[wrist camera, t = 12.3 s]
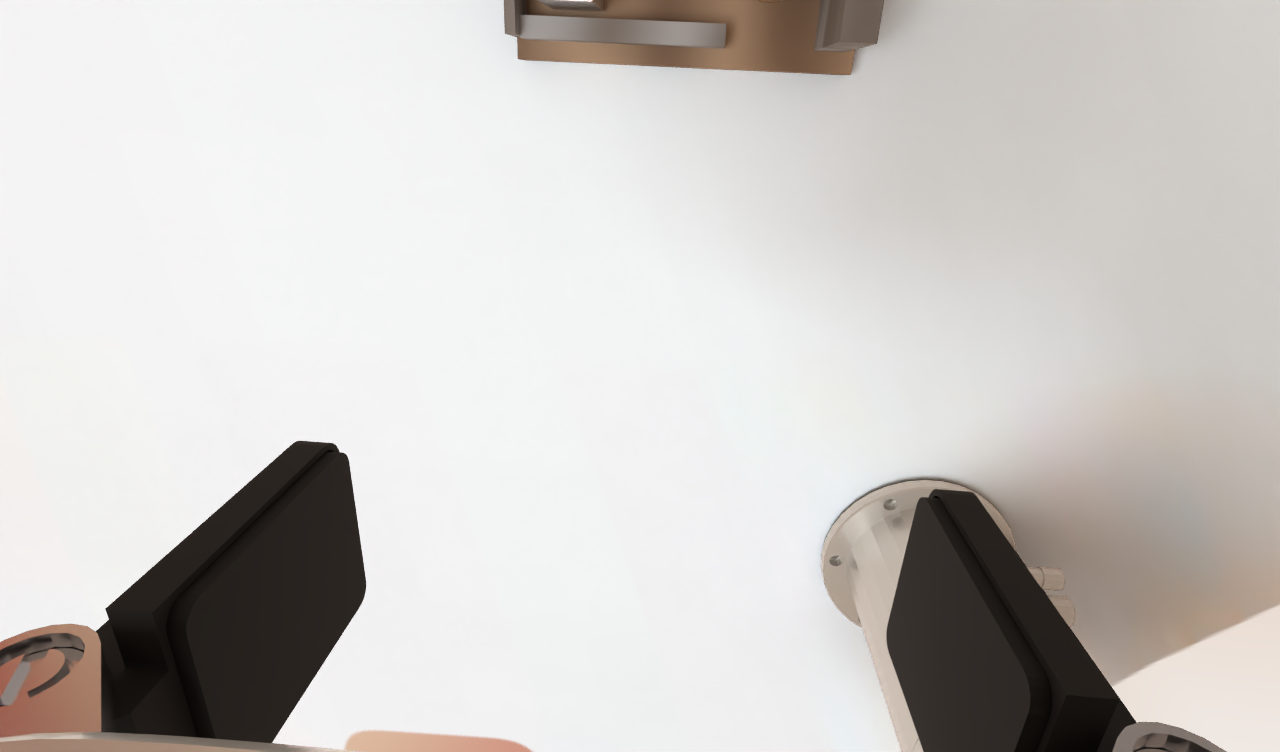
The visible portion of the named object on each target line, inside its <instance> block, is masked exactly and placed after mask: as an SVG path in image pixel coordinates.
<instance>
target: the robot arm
mask: <svg viewBox="0 0 1280 752" xmlns="http://www.w3.org/2000/svg"><path fill="white" fill-rule="evenodd" d="M821 571H822V575H823V579H824V584H825V587H826V589H827V592H828V595H829V597H830V599H831V600H832V602H833V603H834V605H835V606H836V608H837V609H838V610H839V611H840V612H841V613H842V614H843V615H844V616H845V617H846V618H847V619H849V620H850V621H852V622H853V623H855V624H856V625H858V626H860V627H862V629H863V632H864V635H865V638H866V641H867V644H868V648H869V651H870V654H871V657H872V660H873V663H874V667H875V670H876V673H877V676H878V679H879V682H880V686H881V689H882V692H883V695H884V698H885V701H886V705H887V708H888V711H889V714H890V717H891V720H892V723H893V727H894V730H895V733H896V736H897V739H898V742H899V746H900V749H901V752H1226V751H1224V750H1223V749H1221V748H1219V747H1218V746H1216V745H1215V744H1213V743H1211V742H1210V741H1208V740H1206V739H1205V738H1202V737H1200V736H1198V735H1195V734H1193V733H1191V732H1188V731H1186V730H1184V729H1181V728H1178V727H1174V726H1170V725H1166V724H1162V723H1158V722H1138V723H1136V721H1135V720H1134V718H1133V717H1132V716H1131V714H1130V713H1129V711H1128V710H1127V708H1126V707H1125V706H1124V704H1123V703H1122V701H1121V700H1120V698H1119V697H1118V696H1117V694H1116V693H1115V691H1114V690H1113V688H1112V687H1111V686H1110V684H1109V683H1108V681H1107V680H1106V678H1105V677H1104V676H1103V674H1102V673H1101V671H1100V670H1099V669H1098V667H1097V666H1096V664H1095V663H1094V661H1093V660H1092V659H1091V657H1090V656H1089V654H1088V653H1087V651H1086V650H1085V649H1084V647H1083V646H1082V644H1081V643H1080V642H1079V640H1078V639H1077V637H1076V636H1075V634H1074V633H1073V632H1072V630H1071V629H1070V626H1072V625H1073V623H1074V621H1075V610H1074V606H1073V604H1072V602H1071V600H1070V599H1069V598H1068V597H1064V596H1051V595H1046V593H1045V592H1044V590H1043V589H1047V590H1062V589H1063V587H1064V584H1065V579H1064V574H1063V572H1062V571H1061V570H1060V569H1059V568H1047V567H1036V568H1034V567H1026V565H1025V564H1024V563H1023V561H1022V560H1021V558H1020V557H1019V556H1018V554H1017V553H1016V548H1015V541H1014V538H1013V536H1012V533H1011V530H1010V528H1009V526H1008V525H1007V523H1006V522H1005V520H1004V519H1003V517H1002V516H1001V514H1000V513H999V512H998V511H997V510H996V509H995V507H994V506H993V505H992V504H991V503H990V502H989V501H987V500H986V499H985V498H983V497H982V496H980V495H979V494H978V493H976V492H974V491H971V490H969V489H967V488H965V487H963V486H960V485H956V484H952V483H948V482H944V481H932V480H918V481H906V482H902V483H898V484H894V485H889V486H886V487H884V488H881V489H879V490H876V491H874V492H872V493H869V494H868V495H866V496H865V497H863V498H861V499H860V500H858V501H857V502H855V503H854V504H853V505H851V506H850V507H849V508H848V509H847V510H846V511H845V512H844V513H842V514H841V516H840V517H839V518H838V519H837V521H836V522H835V523H834V525H833V526H832V527H831V529H830V531H829V533H828V535H827V537H826V539H825V542H824V546H823V550H822V554H821ZM365 591H366V578H365V571H364V564H363V557H362V550H361V543H360V536H359V529H358V522H357V515H356V508H355V501H354V494H353V487H352V480H351V473H350V466H349V460H348V457H347V455H346V454H345V453H340V452H339V450H338V448H337V446H336V445H334V444H333V443H322V442H309V441H297V442H295V443H293V444H292V445H291V446H290V447H289V448H287V449H286V450H285V451H284V452H283V453H282V454H281V455H280V456H278V457H277V458H276V459H275V460H274V461H273V462H272V463H270V464H269V465H268V466H267V467H266V468H265V469H264V470H263V471H261V472H260V473H259V474H258V475H257V476H256V477H255V478H253V479H252V480H251V481H250V482H249V483H248V484H247V485H246V486H244V487H243V488H242V489H241V490H240V491H239V492H238V493H236V494H235V495H234V496H233V497H232V498H231V499H230V500H228V501H227V502H226V503H225V504H224V505H223V506H222V507H221V508H219V509H218V510H217V511H216V512H215V513H214V514H213V515H211V516H210V517H209V518H208V519H207V520H206V521H205V522H204V523H202V524H201V525H200V526H199V527H198V528H197V529H196V530H194V531H193V532H192V533H191V534H190V535H189V536H188V537H186V538H185V539H184V540H183V541H182V542H181V543H180V544H179V545H177V546H176V547H175V548H174V549H173V550H172V551H171V552H169V553H168V554H167V555H166V556H165V557H164V558H163V559H162V560H160V561H159V562H158V563H157V564H156V565H155V566H154V567H152V568H151V569H150V570H149V571H148V572H147V573H146V574H145V575H143V576H142V577H141V578H140V579H139V580H138V581H137V582H135V583H134V584H133V585H132V586H131V587H130V588H129V589H127V590H126V591H125V592H124V593H123V594H122V595H121V596H120V597H118V598H117V599H116V600H115V601H114V602H113V603H112V604H110V605H109V606H108V607H107V608H106V612H107V615H108V618H109V620H108V621H107V622H106V623H105V624H104V625H102V626H101V627H100V628H99V629H98V630H97V631H96V632H95V631H94V630H92V629H90V628H89V627H87V626H82V625H76V624H62V625H51V626H46V627H42V628H38V629H34V630H30V631H27V632H24V633H22V634H19V635H16V636H14V637H11V638H8V639H6V640H4V641H2V642H0V752H360V751H349V750H339V749H328V748H317V747H306V746H295V745H284V744H274V743H272V742H273V740H274V739H275V737H276V736H277V734H278V732H279V731H280V729H281V728H282V726H283V725H284V723H285V722H286V720H287V718H288V717H289V715H290V714H291V712H292V711H293V709H294V708H295V706H296V705H297V703H298V701H299V700H300V698H301V697H302V695H303V694H304V692H305V691H306V689H307V688H308V686H309V684H310V683H311V681H312V680H313V678H314V677H315V675H316V674H317V672H318V671H319V669H320V667H321V666H322V664H323V663H324V661H325V660H326V658H327V657H328V655H329V653H330V652H331V650H332V649H333V647H334V646H335V644H336V643H337V641H338V640H339V638H340V636H341V635H342V633H343V632H344V630H345V629H346V627H347V626H348V624H349V623H350V621H351V619H352V618H353V616H354V615H355V613H356V612H357V610H358V609H359V607H360V605H361V603H362V601H363V599H364V595H365Z"/></svg>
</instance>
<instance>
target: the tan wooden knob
mask: <svg viewBox="0 0 1280 752" xmlns="http://www.w3.org/2000/svg"><path fill="white" fill-rule="evenodd" d="M756 1H759V2H763V3H776V2H781V1H784V0H756Z"/></svg>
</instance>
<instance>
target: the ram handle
mask: <svg viewBox="0 0 1280 752" xmlns="http://www.w3.org/2000/svg"><path fill="white" fill-rule="evenodd" d="M538 1H540V2H541V3H543V4H545V5H547V6H548V7H550V8H552V9H555V10H579V11H602V12H603V0H538Z"/></svg>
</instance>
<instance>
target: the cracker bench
mask: <svg viewBox="0 0 1280 752" xmlns="http://www.w3.org/2000/svg"><path fill="white" fill-rule="evenodd" d="M883 3H884V0H784V1H781V2H776V3H763V2H759V1H756V0H603V12H602V11H579V10H555V9H552V8H550V7H548V6H547V5H545V4H543V3H541V2H540V1H538V0H504V21H505V34H508V35H512V36H515V37H517V42H518V59H521V60H532V61H554V62H575V63H596V64H618V65H639V66H660V67H682V68H703V69H724V70H746V71H767V72H788V73H810V74H831V75H851V71H852V65H853V58H854V52H855V49H858V48H862V47H866V46H869V45H873V44H877V40H878V34H879V28H880V22H881V16H882V10H883Z"/></svg>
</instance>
